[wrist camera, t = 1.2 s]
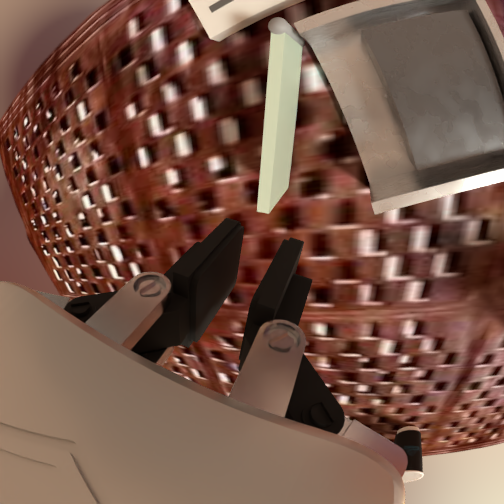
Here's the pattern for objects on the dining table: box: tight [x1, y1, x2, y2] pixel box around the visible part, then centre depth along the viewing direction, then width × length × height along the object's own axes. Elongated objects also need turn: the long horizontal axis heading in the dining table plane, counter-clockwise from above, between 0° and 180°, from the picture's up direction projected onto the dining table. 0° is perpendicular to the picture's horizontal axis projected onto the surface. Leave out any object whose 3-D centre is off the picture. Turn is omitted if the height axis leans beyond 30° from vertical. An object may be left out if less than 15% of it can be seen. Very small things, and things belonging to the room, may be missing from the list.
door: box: [257, 17, 305, 214], centre depth 22 cm, size 1×16×7 cm, turn 176°
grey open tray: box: [293, 0, 504, 214], centre depth 17 cm, size 16×16×6 cm
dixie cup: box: [394, 426, 424, 483], centre depth 40 cm, size 8×8×11 cm
